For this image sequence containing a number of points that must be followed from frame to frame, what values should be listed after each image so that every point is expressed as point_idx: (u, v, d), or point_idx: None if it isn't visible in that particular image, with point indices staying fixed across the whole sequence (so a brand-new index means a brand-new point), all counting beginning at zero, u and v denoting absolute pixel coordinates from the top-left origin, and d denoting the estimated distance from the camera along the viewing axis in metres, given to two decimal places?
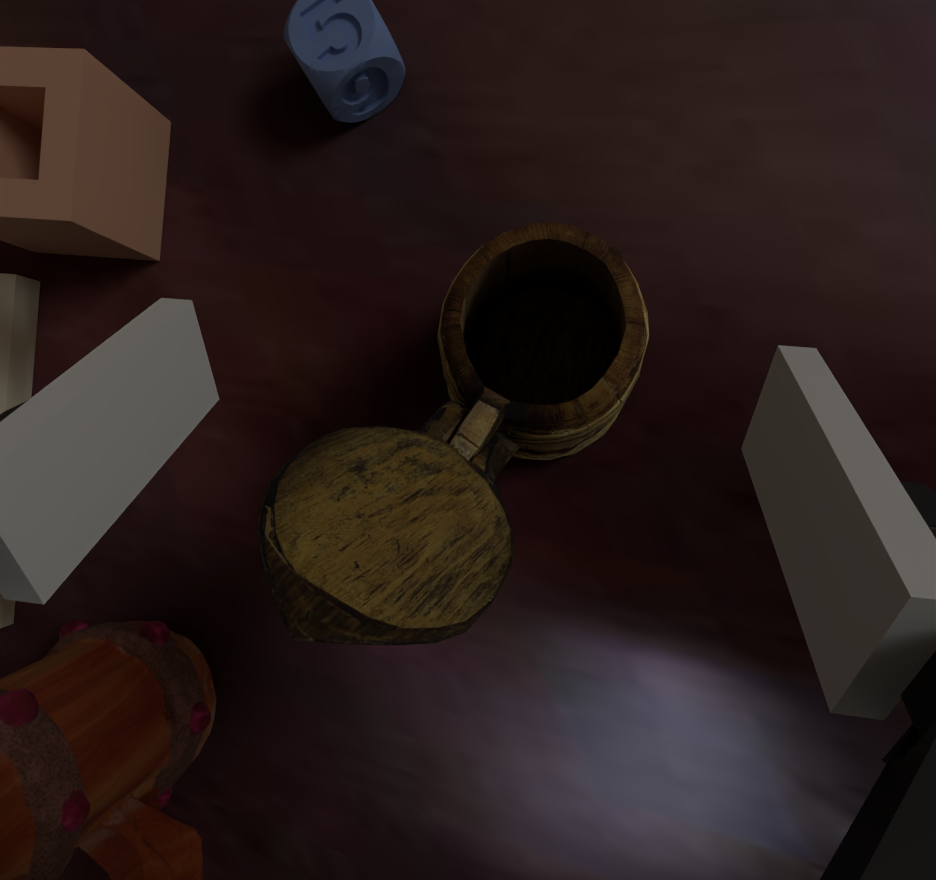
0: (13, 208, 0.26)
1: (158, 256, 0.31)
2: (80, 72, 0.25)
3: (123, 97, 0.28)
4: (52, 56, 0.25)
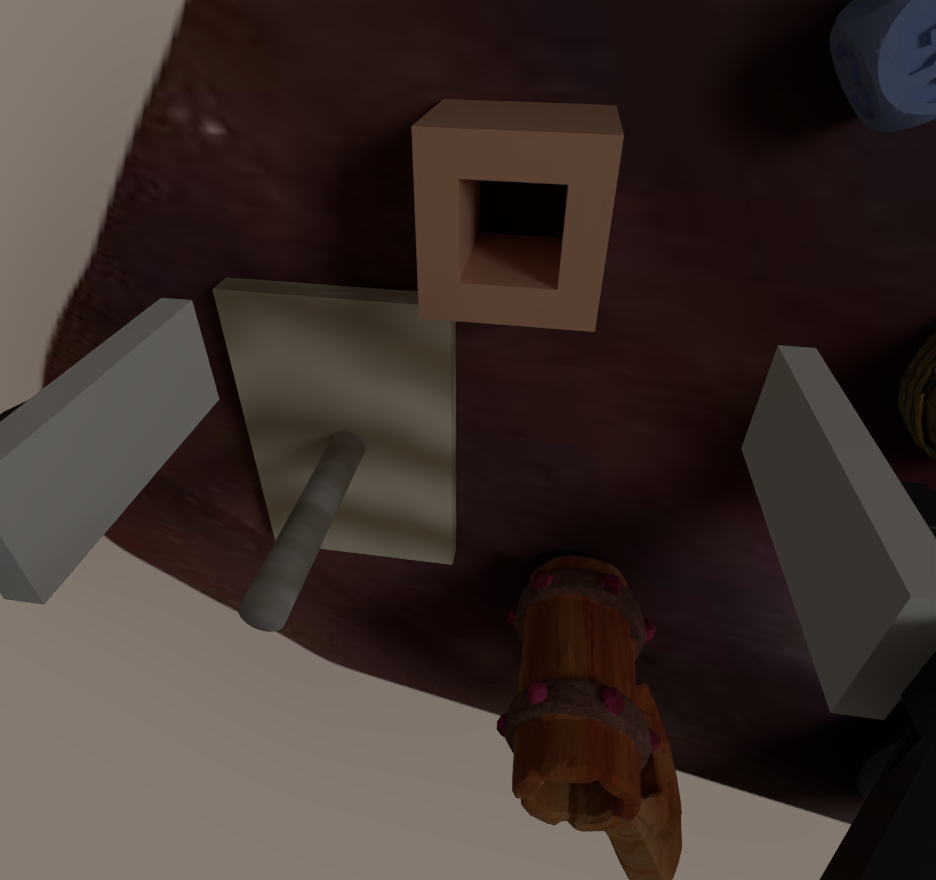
0: (528, 318, 0.24)
1: None
2: (616, 166, 0.20)
3: None
4: (578, 144, 0.20)
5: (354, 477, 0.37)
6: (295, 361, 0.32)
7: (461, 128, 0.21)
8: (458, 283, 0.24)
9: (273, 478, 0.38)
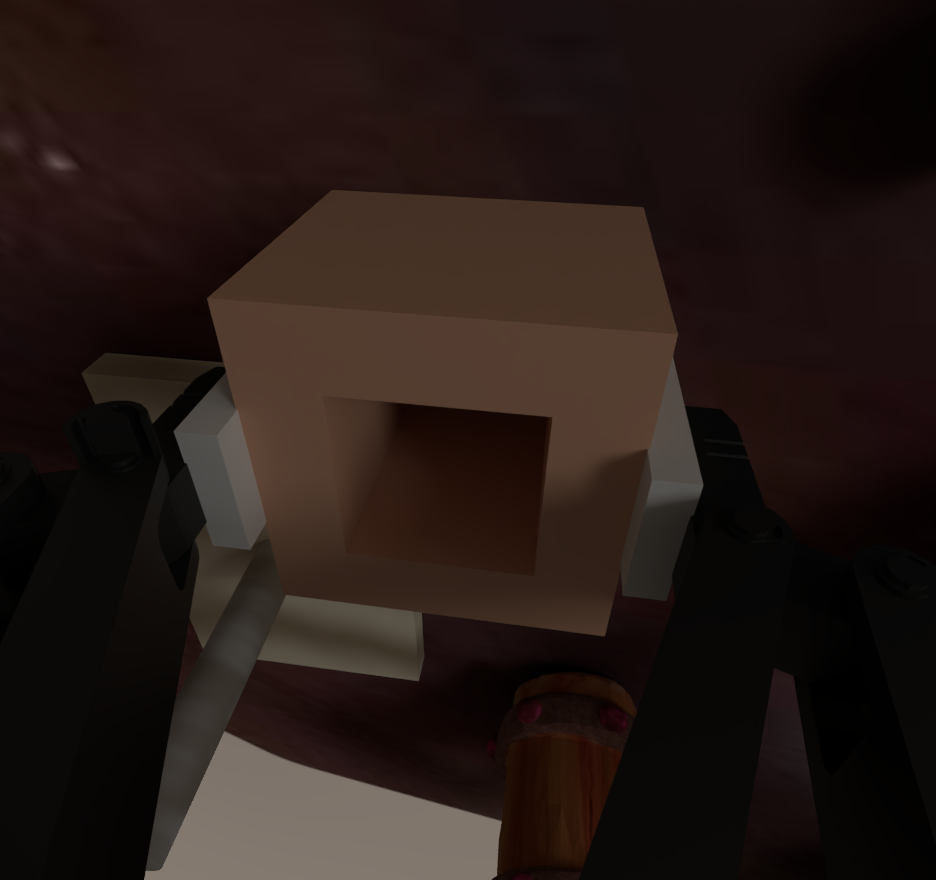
0: (481, 610, 0.13)
1: None
2: (656, 390, 0.09)
3: None
4: (574, 347, 0.09)
5: None
6: None
7: (315, 305, 0.09)
8: (347, 552, 0.12)
9: None
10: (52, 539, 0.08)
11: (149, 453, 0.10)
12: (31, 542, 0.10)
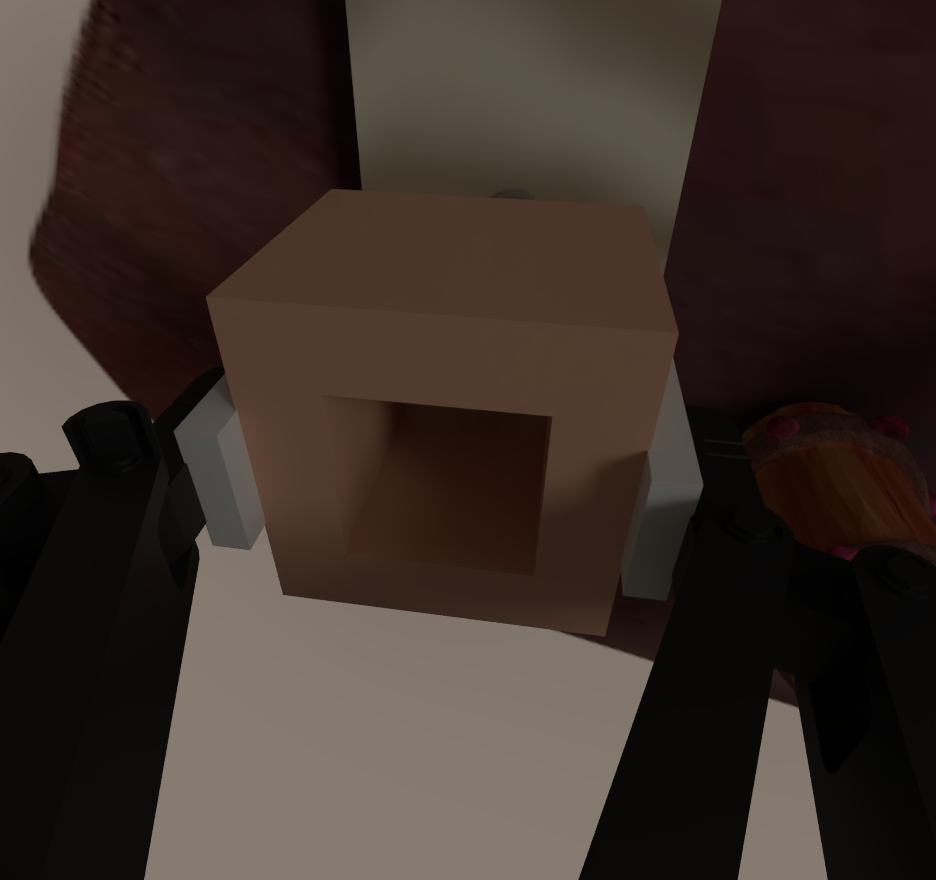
0: (480, 610, 0.13)
1: None
2: (657, 389, 0.09)
3: None
4: (574, 346, 0.09)
5: None
6: (455, 53, 0.21)
7: (314, 304, 0.09)
8: (346, 552, 0.12)
9: None
10: (52, 539, 0.08)
11: (149, 453, 0.10)
12: (31, 541, 0.10)
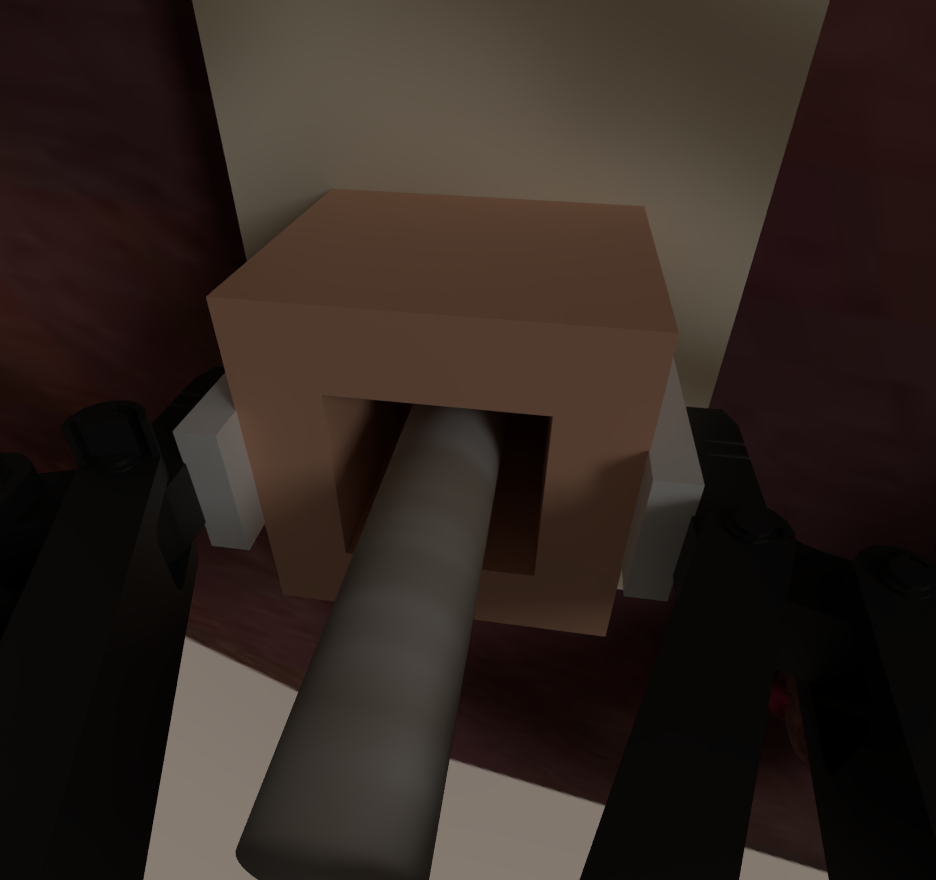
0: (481, 610, 0.13)
1: None
2: (657, 389, 0.09)
3: None
4: (575, 346, 0.09)
5: None
6: (378, 101, 0.13)
7: (314, 304, 0.09)
8: (347, 552, 0.12)
9: None
10: (51, 539, 0.08)
11: (148, 453, 0.10)
12: (30, 542, 0.10)
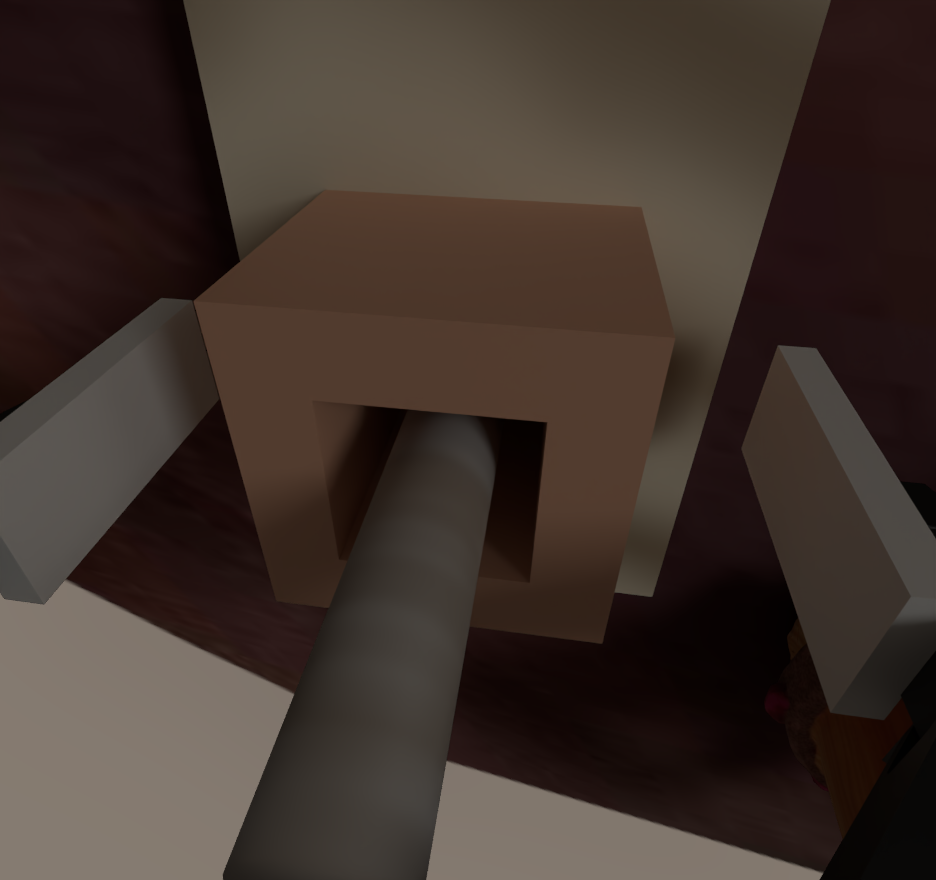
0: (476, 617, 0.13)
1: None
2: (653, 394, 0.09)
3: None
4: (569, 351, 0.09)
5: None
6: (373, 101, 0.13)
7: (303, 308, 0.09)
8: (339, 559, 0.12)
9: None
10: None
11: None
12: None
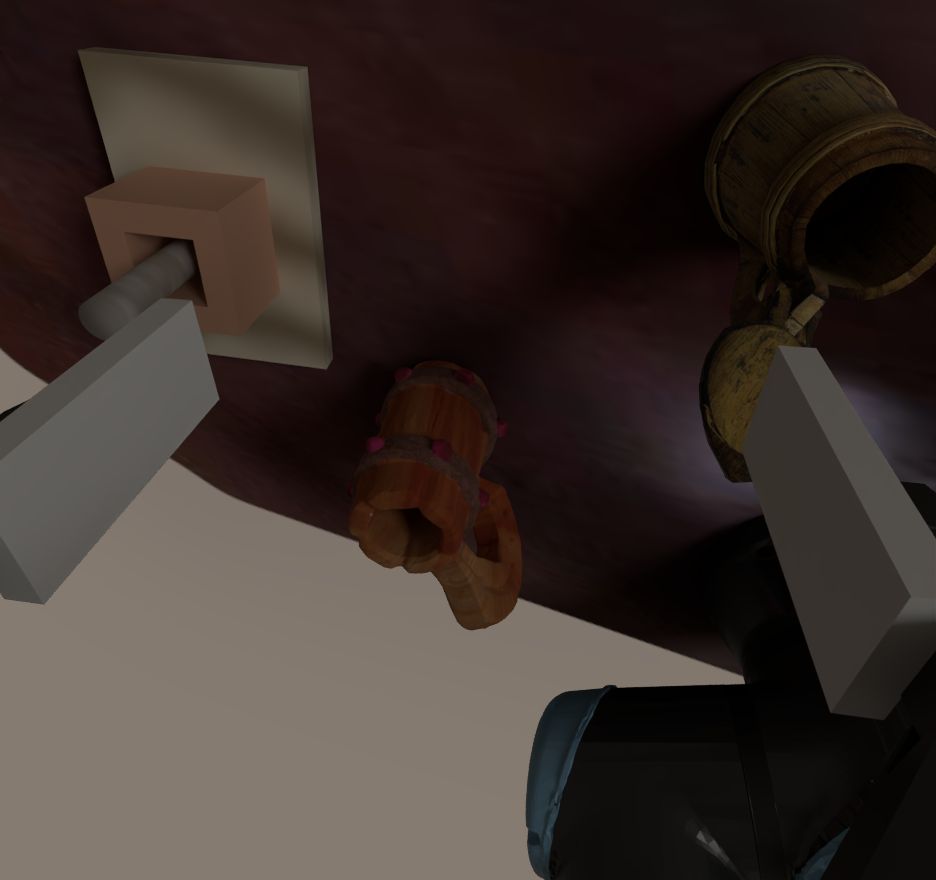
0: None
1: (278, 288, 0.40)
2: (218, 230, 0.31)
3: (240, 209, 0.33)
4: (191, 215, 0.31)
5: None
6: (161, 134, 0.35)
7: (116, 200, 0.31)
8: None
9: None
10: None
11: None
12: None
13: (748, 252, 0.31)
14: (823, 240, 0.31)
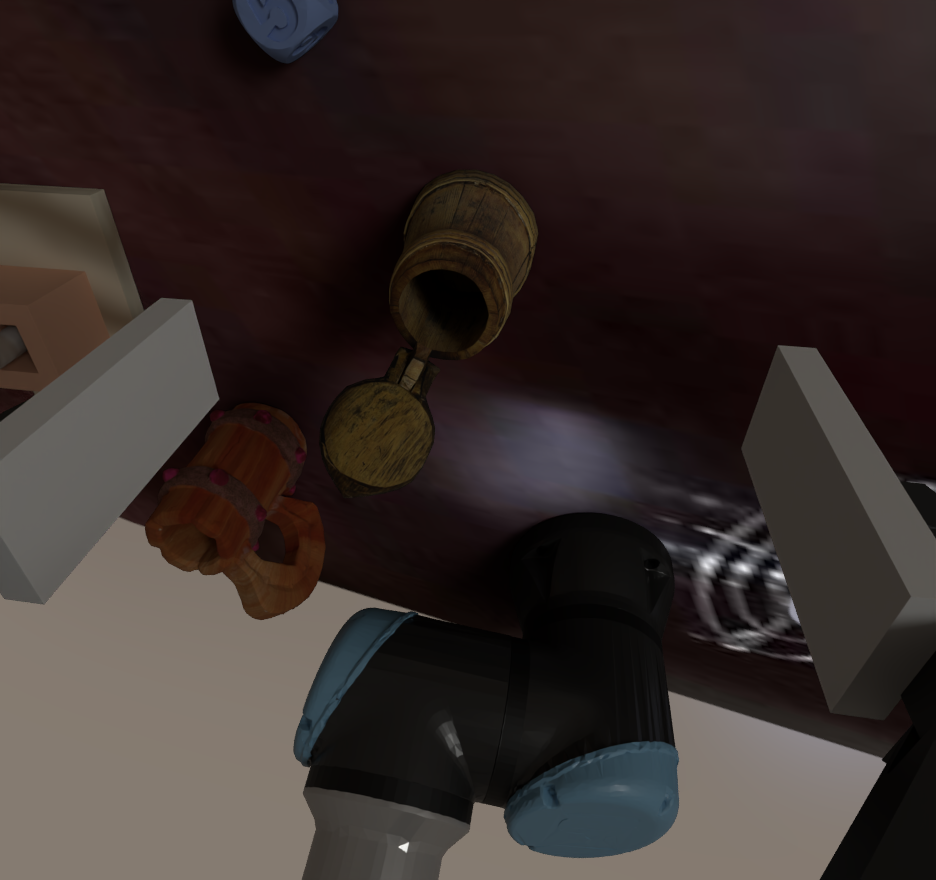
0: (33, 387, 0.45)
1: None
2: (32, 318, 0.42)
3: (56, 299, 0.43)
4: (10, 308, 0.41)
5: None
6: (4, 242, 0.45)
7: None
8: None
9: None
10: None
11: None
12: None
13: None
14: (486, 306, 0.40)
